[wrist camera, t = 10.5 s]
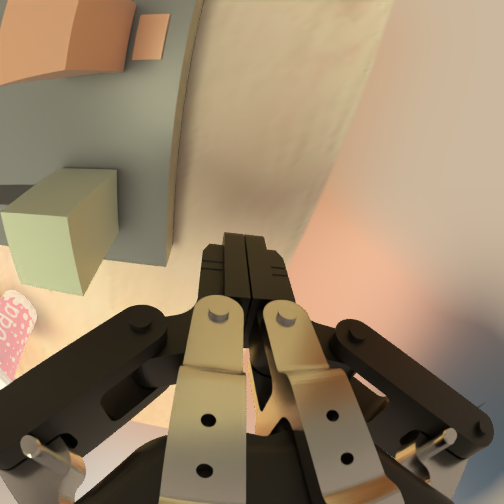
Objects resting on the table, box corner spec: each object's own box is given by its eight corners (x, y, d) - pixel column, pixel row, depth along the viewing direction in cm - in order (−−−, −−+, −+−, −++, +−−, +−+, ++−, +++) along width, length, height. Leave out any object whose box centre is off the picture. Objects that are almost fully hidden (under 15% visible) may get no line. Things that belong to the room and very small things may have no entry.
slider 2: (59, 168, 12) (0, 212, 7) (116, 169, 12) (67, 216, 8) (65, 227, 13) (21, 283, 9) (119, 232, 14) (83, 296, 10)
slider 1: (71, 14, 7) (8, -1, 3) (136, 4, 8) (88, -31, 3) (60, 78, 9) (-9, 88, 5) (123, 72, 10) (65, 70, 5)
